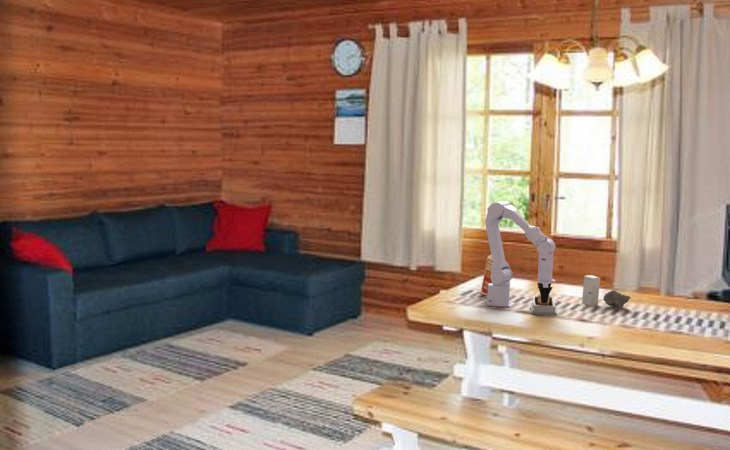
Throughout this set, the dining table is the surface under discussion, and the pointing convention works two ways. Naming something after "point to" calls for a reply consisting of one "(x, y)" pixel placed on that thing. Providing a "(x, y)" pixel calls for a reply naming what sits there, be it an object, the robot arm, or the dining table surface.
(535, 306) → the grey green open box
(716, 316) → the dining table surface
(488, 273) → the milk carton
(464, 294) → the dining table surface
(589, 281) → the skincare box
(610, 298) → the fossil
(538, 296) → the spout can
